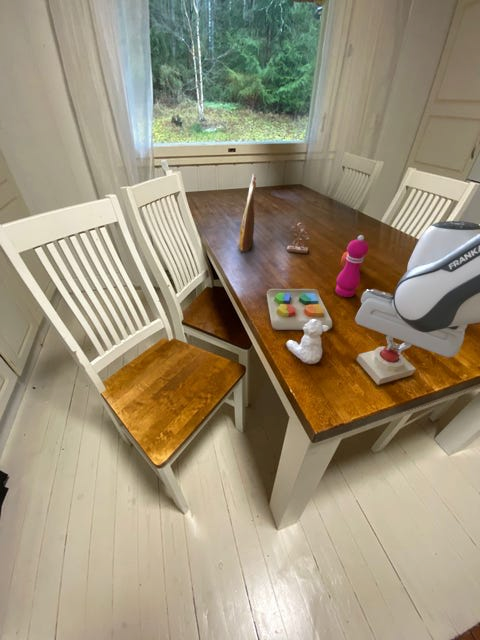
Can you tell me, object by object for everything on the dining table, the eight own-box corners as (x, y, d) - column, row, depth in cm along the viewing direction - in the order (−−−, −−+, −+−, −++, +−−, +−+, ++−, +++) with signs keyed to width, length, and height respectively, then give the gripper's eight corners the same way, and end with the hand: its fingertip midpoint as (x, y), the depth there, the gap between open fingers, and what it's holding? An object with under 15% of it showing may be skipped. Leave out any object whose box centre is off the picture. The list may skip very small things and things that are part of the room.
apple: (361, 274, 103) (368, 254, 98) (339, 272, 104) (345, 252, 99) (359, 264, 109) (365, 245, 104) (338, 262, 110) (343, 244, 105)
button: (389, 350, 66) (392, 345, 65) (400, 361, 64) (403, 355, 63) (377, 353, 65) (379, 348, 64) (387, 364, 63) (390, 359, 62)
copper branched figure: (307, 249, 120) (312, 222, 112) (307, 253, 117) (312, 225, 109) (287, 247, 121) (290, 220, 114) (286, 251, 118) (290, 223, 111)
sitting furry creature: (318, 341, 74) (328, 305, 66) (331, 365, 67) (344, 328, 60) (285, 345, 73) (290, 308, 65) (295, 369, 66) (302, 332, 58)
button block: (388, 351, 71) (394, 340, 68) (412, 374, 65) (419, 363, 63) (356, 360, 69) (360, 349, 66) (377, 384, 63) (383, 373, 60)
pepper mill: (329, 289, 94) (343, 232, 82) (345, 284, 97) (362, 229, 84) (343, 300, 89) (361, 241, 77) (360, 295, 92) (380, 237, 79)
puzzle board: (317, 294, 92) (319, 285, 90) (332, 330, 77) (335, 321, 75) (266, 293, 92) (266, 284, 90) (271, 330, 77) (272, 320, 75)
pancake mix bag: (257, 237, 130) (260, 171, 113) (251, 254, 115) (255, 182, 98) (243, 236, 131) (244, 170, 113) (236, 253, 116) (236, 181, 99)
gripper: (360, 292, 57) (344, 340, 66) (477, 329, 48) (441, 379, 57) (369, 280, 61) (353, 326, 70) (478, 312, 52) (444, 361, 61)
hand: (393, 350), depth 63 cm, fingers closed
